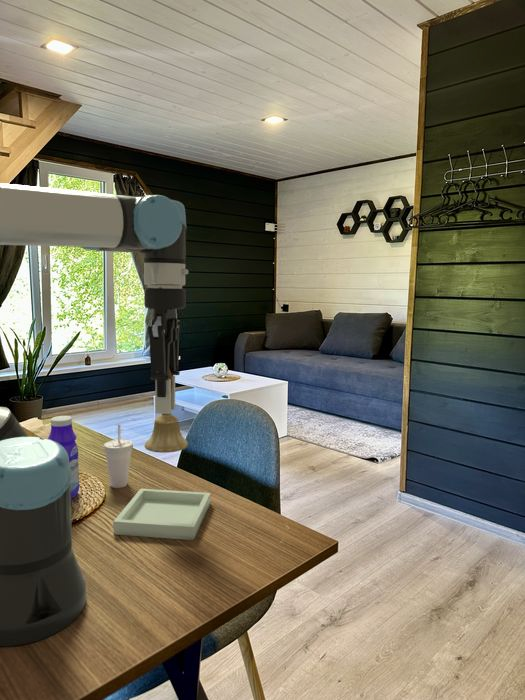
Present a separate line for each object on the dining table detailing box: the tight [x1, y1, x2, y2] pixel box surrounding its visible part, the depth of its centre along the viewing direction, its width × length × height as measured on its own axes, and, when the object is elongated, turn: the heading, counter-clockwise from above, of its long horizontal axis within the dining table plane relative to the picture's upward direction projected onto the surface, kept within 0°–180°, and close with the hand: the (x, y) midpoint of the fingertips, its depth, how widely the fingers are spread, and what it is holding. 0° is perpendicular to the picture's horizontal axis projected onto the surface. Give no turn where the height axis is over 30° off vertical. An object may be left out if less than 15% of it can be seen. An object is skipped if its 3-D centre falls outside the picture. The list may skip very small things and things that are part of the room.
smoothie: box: [103, 423, 134, 489], centre depth 114 cm, size 6×6×14 cm
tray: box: [113, 488, 211, 541], centre depth 99 cm, size 15×15×2 cm
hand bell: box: [144, 368, 189, 454], centre depth 97 cm, size 8×8×16 cm
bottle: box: [47, 415, 80, 500], centre depth 107 cm, size 7×6×17 cm
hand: (165, 410), depth 97 cm, fingers closed on hand bell, 2 cm apart
